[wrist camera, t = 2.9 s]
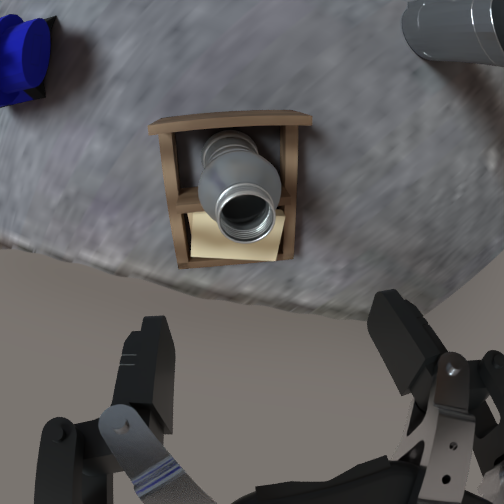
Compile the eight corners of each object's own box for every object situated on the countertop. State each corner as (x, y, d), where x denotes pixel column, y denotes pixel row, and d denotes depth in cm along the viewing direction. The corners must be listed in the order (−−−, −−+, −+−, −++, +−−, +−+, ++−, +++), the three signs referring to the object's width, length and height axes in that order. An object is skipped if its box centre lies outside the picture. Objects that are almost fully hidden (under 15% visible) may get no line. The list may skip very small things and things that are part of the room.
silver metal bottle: (202, 126, 33) (190, 168, 16) (257, 128, 34) (305, 171, 17) (201, 176, 36) (192, 263, 19) (253, 177, 37) (292, 262, 20)
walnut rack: (161, 118, 31) (147, 125, 25) (291, 110, 33) (312, 116, 26) (180, 257, 42) (175, 292, 35) (288, 248, 43) (302, 280, 37)
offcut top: (194, 202, 35) (193, 209, 33) (281, 209, 37) (285, 216, 35) (191, 248, 38) (190, 256, 36) (272, 253, 40) (275, 261, 38)
